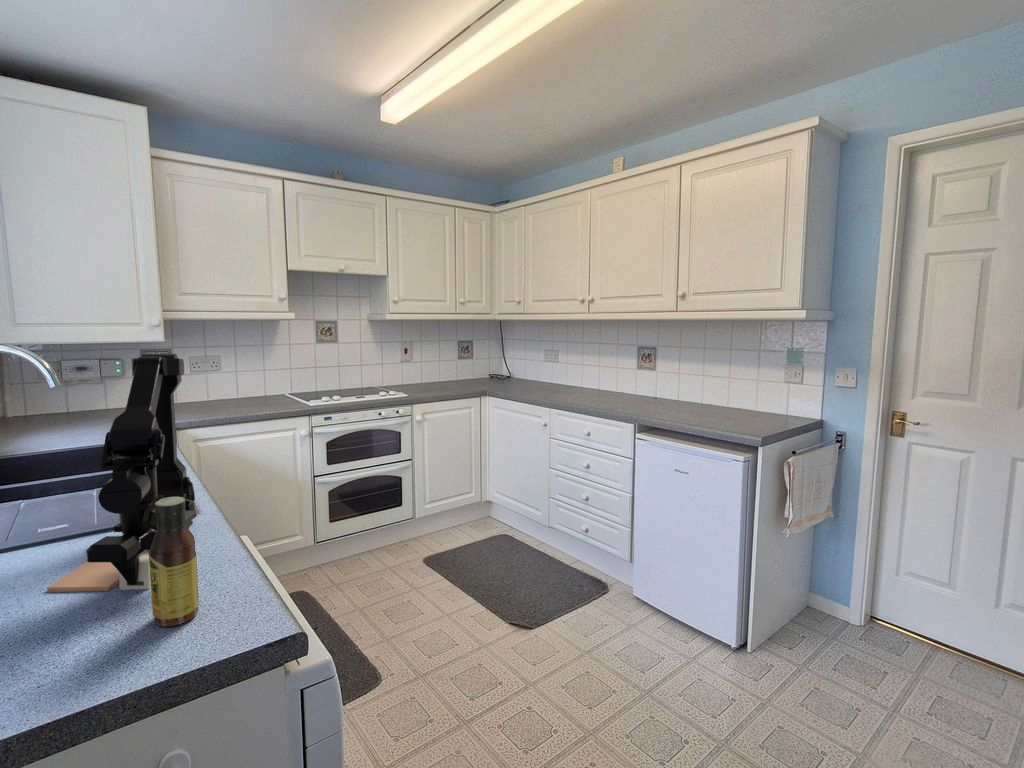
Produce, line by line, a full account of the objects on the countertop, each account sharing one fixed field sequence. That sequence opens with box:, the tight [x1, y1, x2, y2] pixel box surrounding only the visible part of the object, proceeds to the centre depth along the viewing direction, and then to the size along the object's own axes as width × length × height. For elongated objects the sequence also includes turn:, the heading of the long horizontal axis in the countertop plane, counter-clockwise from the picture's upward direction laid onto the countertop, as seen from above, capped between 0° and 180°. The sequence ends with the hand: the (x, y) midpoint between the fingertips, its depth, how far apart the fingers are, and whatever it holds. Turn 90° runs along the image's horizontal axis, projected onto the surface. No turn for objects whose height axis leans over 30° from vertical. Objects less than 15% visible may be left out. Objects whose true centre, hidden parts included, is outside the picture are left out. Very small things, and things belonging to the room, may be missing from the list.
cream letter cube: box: [119, 550, 151, 590], centre depth 94 cm, size 5×5×5 cm
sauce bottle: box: [149, 497, 199, 628], centre depth 82 cm, size 6×6×20 cm
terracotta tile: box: [46, 560, 120, 593], centre depth 96 cm, size 10×10×1 cm
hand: (143, 576), depth 94 cm, fingers open, 5 cm apart
